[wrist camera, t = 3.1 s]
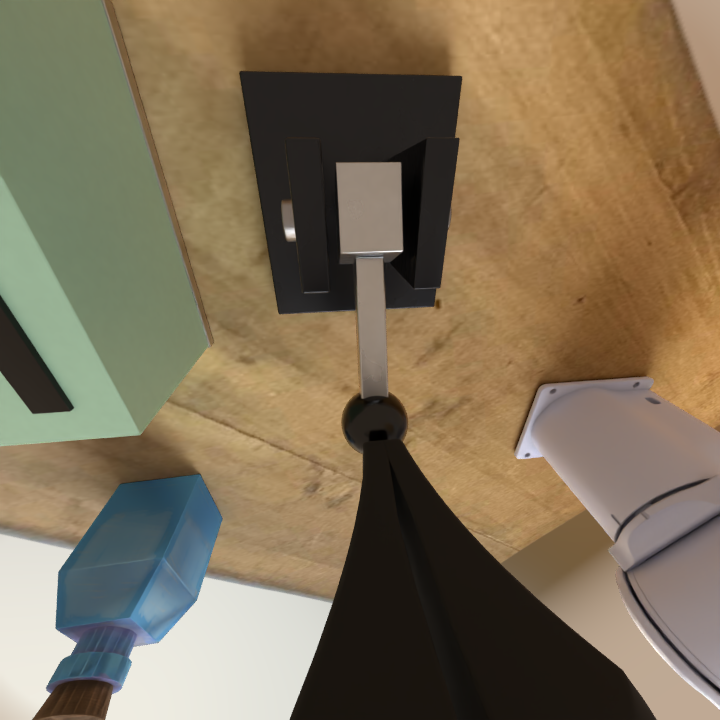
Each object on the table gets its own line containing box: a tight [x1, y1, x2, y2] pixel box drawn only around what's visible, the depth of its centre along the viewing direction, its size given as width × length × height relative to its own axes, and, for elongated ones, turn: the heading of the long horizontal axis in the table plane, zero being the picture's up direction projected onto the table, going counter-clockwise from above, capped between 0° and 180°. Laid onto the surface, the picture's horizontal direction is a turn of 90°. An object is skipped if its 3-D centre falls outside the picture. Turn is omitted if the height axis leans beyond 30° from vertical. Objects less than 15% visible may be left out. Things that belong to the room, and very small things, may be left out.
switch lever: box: [334, 162, 408, 454], centre depth 11 cm, size 11×3×3 cm, turn 2°
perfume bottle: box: [32, 474, 222, 720], centre depth 20 cm, size 6×6×12 cm
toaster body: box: [0, 0, 214, 446], centre depth 10 cm, size 8×14×8 cm, turn 1°
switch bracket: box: [239, 71, 462, 314], centre depth 12 cm, size 10×9×7 cm
